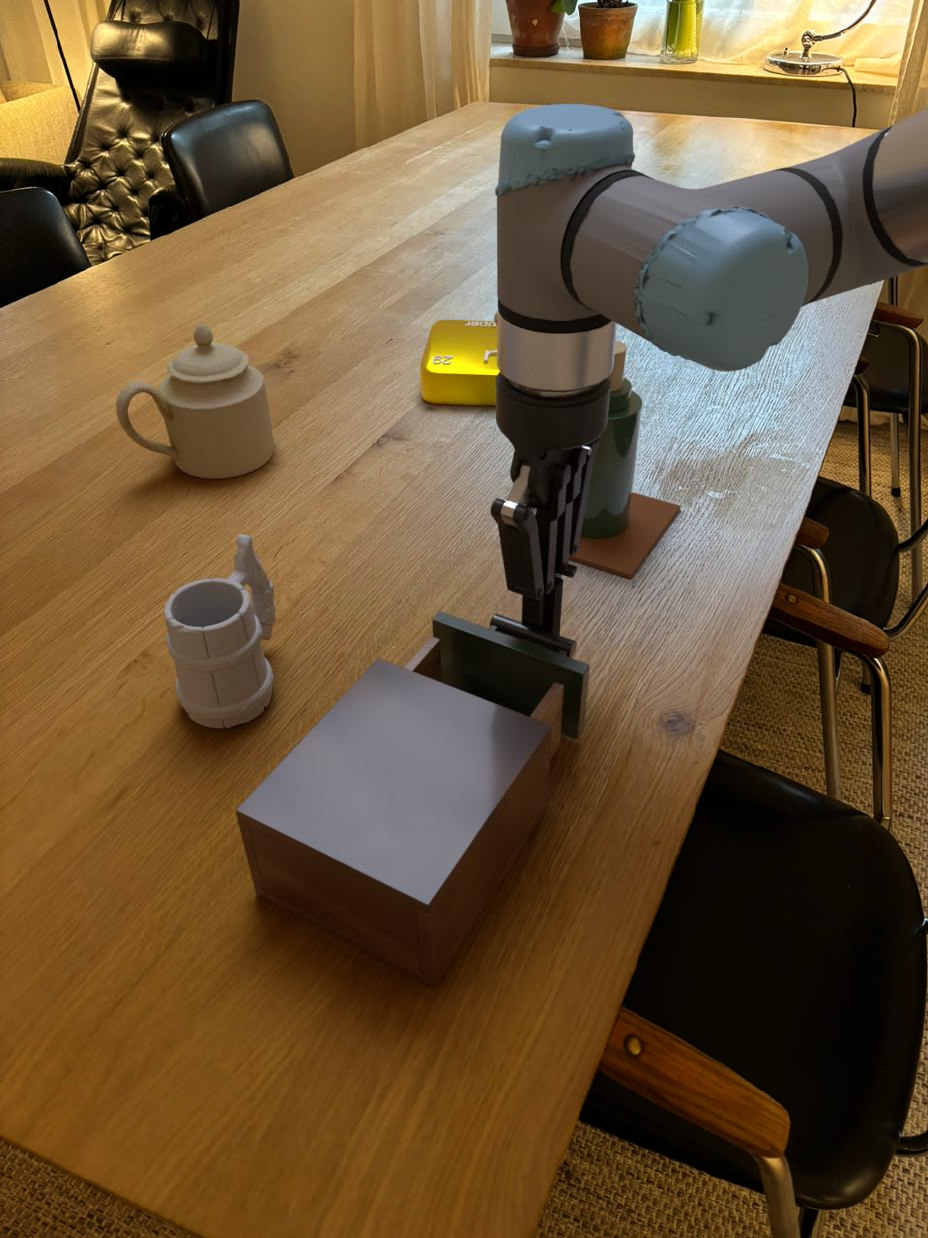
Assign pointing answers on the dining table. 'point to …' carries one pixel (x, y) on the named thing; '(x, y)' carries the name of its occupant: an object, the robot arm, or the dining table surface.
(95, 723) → the dining table surface
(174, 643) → the mug
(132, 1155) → the dining table surface
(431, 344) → the element tile
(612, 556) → the cork mat
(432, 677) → the drawer
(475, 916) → the cabinet
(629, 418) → the oil bottle
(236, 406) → the sugar bowl
